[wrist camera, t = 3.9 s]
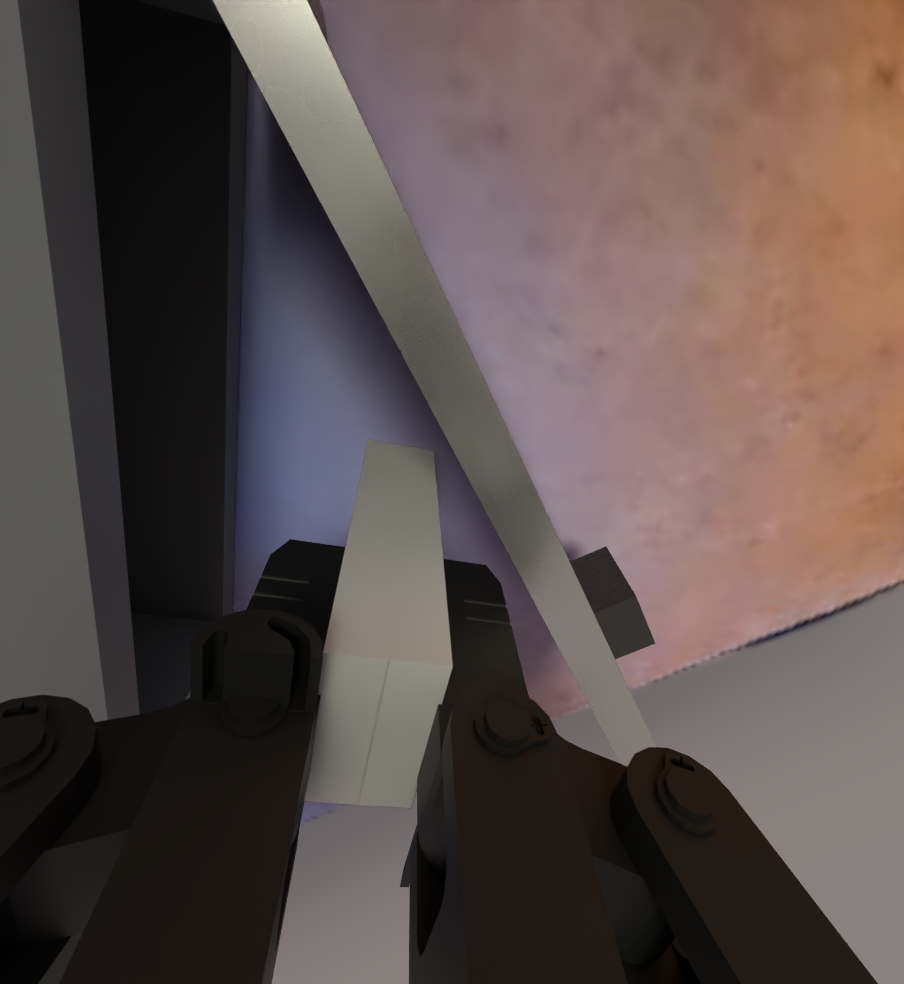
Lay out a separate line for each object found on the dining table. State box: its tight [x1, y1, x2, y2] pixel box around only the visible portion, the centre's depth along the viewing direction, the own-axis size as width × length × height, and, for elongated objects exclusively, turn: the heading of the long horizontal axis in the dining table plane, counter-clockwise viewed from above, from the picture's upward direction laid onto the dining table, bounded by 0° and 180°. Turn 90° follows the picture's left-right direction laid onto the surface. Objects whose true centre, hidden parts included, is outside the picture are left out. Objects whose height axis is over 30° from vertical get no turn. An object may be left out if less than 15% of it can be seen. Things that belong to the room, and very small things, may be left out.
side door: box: [213, 0, 656, 766], centre depth 10 cm, size 16×2×6 cm, turn 26°
